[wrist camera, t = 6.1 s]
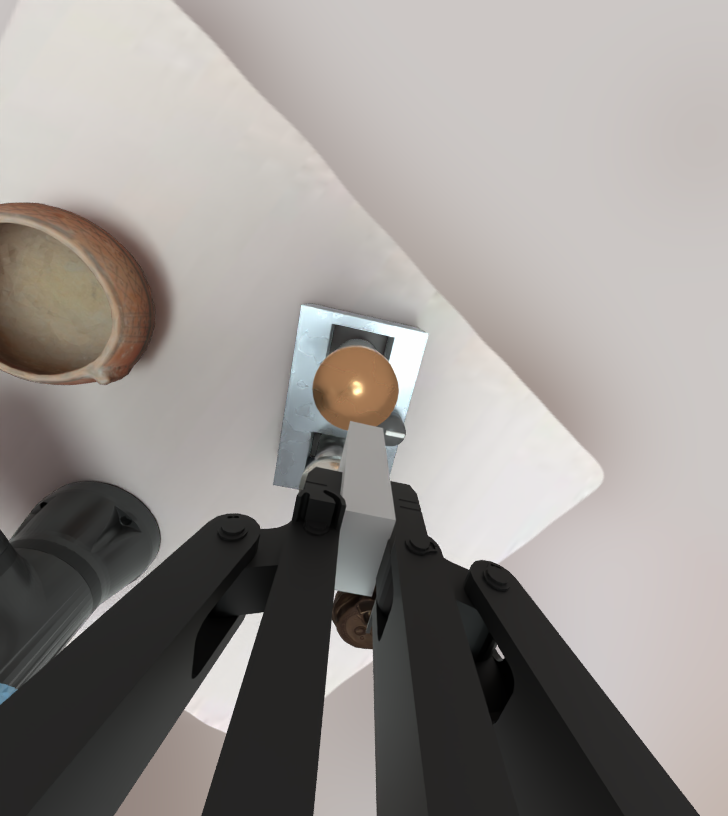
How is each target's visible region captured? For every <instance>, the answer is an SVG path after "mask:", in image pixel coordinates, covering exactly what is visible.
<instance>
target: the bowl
mask: <svg viewBox="0 0 728 816" xmlns="http://www.w3.org/2000/svg"><path fill="white" fill-rule="evenodd" d="M154 317H155V306H154V303H153V300H152V296H151V290H150V286H149V285H148V283H147V281H146V278H145V276H144V274H143V271H142V269H141V267H140V266H139V264H138V263H137V262H136V260H135V259H134V257H133V256H132V255H131V254H130V253H129V252H128V251H127V250H126V249H125V248H124V247H123V246H122V245H121V244H120V243H119V242H118V241H117V240H116V239H114V238H113V237H112V236H111V235H110V234H109V233H107V232H106V231H104V230H103V229H101V228H100V227H98V226H97V225H95V224H94V223H92V222H90V221H89V220H87V219H85V218H83V217H81V216H79V215H76V214H74V213H72V212H69V211H66V210H63V209H60V208H56V207H52V206H48V205H44V204H39V203H6V204H0V370H2V371H4V372H6V373H9V374H11V375H13V376H16V377H18V378H21V379H25V380H28V381H32V382H37V383H44V384H53V385H77V384H85V383H92V382H98V383H99V384H103V385H107V384H109V383H111V382H115V381H117V380H120V379H122V378H123V377H125V376H127V375H128V374H129V373H130V371H131V369H132V368H133V366H134V365H135V363H136V362H137V361H138V360H139V359H140V358H141V356H142V355H143V354H144V352H145V351H146V349H147V347H148V344H149V343H150V340H151V336H152V332H153V329H154V326H155V324H154Z"/></svg>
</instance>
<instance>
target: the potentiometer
mask: <svg viewBox="0 0 728 816" xmlns="http://www.w3.org/2000/svg"><path fill="white" fill-rule="evenodd" d="M376 427H380V428H383V433H384V440H385V446H396V445H398V444H400V443H401V442H402V441H403V440H404V438H405V435H406V430H405V427H404V424H403V421H402V418H401V416H400V415H399V414H398V413H397V412H395V411H392V413H391V414H390V416H389V417H388V418H387V419H386V420H385V421H384V422H382V423H381V424H379V425H378V426H376Z"/></svg>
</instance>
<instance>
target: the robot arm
mask: <svg viewBox="0 0 728 816" xmlns="http://www.w3.org/2000/svg"><path fill="white" fill-rule="evenodd" d="M159 547H160V533H159V529H158V526H157V523H156V521H155V519H154V517H153V516H152V514H151V513H150V511H149V510H148V509H147V508H146V507H145V506H144V504H143V503H141V502H140V501H139V500H138V499H137V498H135V497H134V496H133V495H131V494H129V493H128V492H126V491H124V490H122V489H120V488H118V487H115V486H112V485H109V484H105V483H100V482H92V481H84V482H76V483H71V484H68V485H65V486H63V487H61V488H59V489H58V490H56V491H55V492H53V493H52V494H50V495H49V496H47V497H46V498H44V499H43V500H42V501H40V502H39V503H38V504H37V505H36V506H35V507H34V509H33V510H32V511H31V513H30V514H29V515H28V517H27V518H26V519H25V520H24V522H23V523H22V524H21V526H20V527H19V528H18V530H17V531H16V532H15V534H14V535H13V536H12V538H11V539H10V540H9V541H8V539H7V538H6V536H5V535H4V534H3V532H2V531H1V530H0V816H114V814H115V813H116V811H117V810H118V808H119V807H120V805H121V804H122V802H123V801H124V799H125V798H126V796H127V795H128V793H129V792H130V790H131V789H132V787H133V786H134V784H135V783H136V781H137V780H138V778H139V777H140V775H141V774H142V772H143V771H144V769H145V768H146V766H147V765H148V763H149V762H150V760H151V759H152V757H153V756H154V754H155V753H156V751H157V750H158V748H159V747H160V745H161V744H162V742H163V740H164V739H165V738H166V736H167V735H168V733H169V731H170V730H171V729H172V727H173V725H174V724H175V722H176V721H177V719H178V718H179V716H180V715H181V713H182V712H183V710H184V709H185V707H186V706H187V704H188V703H189V701H190V700H191V698H192V697H193V695H194V694H195V692H196V691H197V689H198V688H199V686H200V685H201V683H202V682H203V680H204V679H205V677H206V676H207V674H208V673H209V671H210V670H211V668H212V667H213V665H214V664H215V662H216V661H217V659H218V658H219V656H220V655H221V653H222V652H223V650H224V649H225V647H226V646H227V644H228V643H229V641H230V640H231V638H232V637H233V635H234V634H235V632H236V631H237V629H238V627H239V626H240V624H241V623H242V621H243V620H244V618H245V615H246V614H253V613H261V612H264V613H263V616H262V620H261V623H260V626H259V629H258V633H257V636H256V639H255V643H254V646H253V649H252V652H251V656H250V659H249V662H248V665H247V669H246V672H245V675H244V678H243V682H242V685H241V688H240V691H239V695H238V698H237V701H236V704H235V708H234V711H233V714H232V718H231V721H230V724H229V727H228V731H227V734H226V737H225V740H224V744H223V747H222V750H221V754H220V757H219V760H218V763H217V766H216V770H215V773H214V776H213V780H212V783H211V786H210V789H209V793H208V796H207V799H206V802H205V806H204V809H203V813H202V816H313V811H314V801H315V791H316V781H317V770H318V759H319V748H320V737H321V727H322V716H323V706H324V695H325V685H326V674H327V663H328V653H329V642H330V631H331V621H332V610H333V599H334V590H338V591H343V592H349V593H354V594H360V595H365V596H371V597H372V594H373V591H374V588H375V585H376V595H377V597H376V600H375V603H374V606H373V609H372V612H371V615H370V618H369V621H368V625H367V629H366V633H369V634H370V631H371V627H372V632H373V674H374V717H375V757H376V758H375V759H376V801H377V802H376V803H377V816H700V815H699V814H698V813H697V812H696V810H695V809H694V807H693V806H692V805H691V804H690V802H689V801H688V800H687V798H686V797H685V796H684V795H683V793H682V792H681V791H680V789H679V788H678V787H677V785H676V784H675V783H674V782H673V780H672V779H671V778H670V776H669V775H668V774H667V773H666V771H665V770H664V769H663V767H662V766H661V765H660V764H659V762H658V761H657V760H656V758H655V757H654V756H653V755H652V753H651V752H650V751H649V749H648V748H647V747H646V746H645V744H644V743H643V742H642V740H641V739H640V738H639V737H638V735H637V734H636V733H635V731H634V730H633V729H632V727H631V726H630V725H629V724H628V722H627V721H626V720H625V718H624V717H623V716H622V715H621V714H620V712H619V711H618V709H617V708H616V707H615V706H614V704H613V703H612V702H611V700H610V699H609V698H608V696H607V695H606V694H605V693H604V691H603V690H602V689H601V688H600V686H599V685H598V684H597V682H596V681H595V680H594V678H593V677H592V676H591V675H590V673H589V672H588V671H587V669H586V668H585V667H584V666H583V664H582V663H581V662H580V660H579V659H578V658H577V656H576V655H575V654H574V653H573V651H572V650H571V649H570V648H569V646H568V645H567V644H566V642H565V641H564V640H563V638H562V637H561V636H560V635H559V633H558V632H557V631H556V629H555V628H554V627H553V626H552V624H551V623H550V622H549V620H548V619H547V618H546V617H545V615H544V614H543V613H542V611H541V610H540V609H539V607H538V606H537V605H536V604H535V602H534V601H533V600H532V598H531V597H530V596H529V595H528V594H527V592H526V591H525V590H524V589H523V587H522V586H521V584H520V583H519V582H518V581H517V579H516V578H515V577H514V576H513V575H512V574H511V573H510V572H509V571H508V570H506V569H504V568H503V567H502V566H500V565H498V564H496V563H493V562H491V561H485V560H480V561H475V562H474V563H473V564H472V565H471V567H470V569H469V570H468V569H466V568H463V567H461V566H459V565H457V564H454V563H452V562H450V561H448V560H446V559H445V558H444V557H443V555H442V551H441V549H440V547H439V546H438V544H437V543H436V542H435V541H434V540H433V539H432V538H431V537H429V536H428V535H427V531H426V527H425V523H424V520H423V516H422V512H421V508H420V505H419V501H418V497H417V494H416V492H415V491H414V490H413V489H412V488H411V486H410V485H407V484H402V483H397V482H392V481H390V475H389V468H388V461H387V454H386V447H385V440H384V433H383V428H380V427H376V426H371V425H366V424H362V423H357V422H353V421H350V424H349V428H348V432H347V436H346V441H345V445H344V449H343V453H342V457H341V461H340V466H339V470H338V471H335V470H330V469H325V468H320V467H315V468H314V469H312V470H311V471H310V472H308V475H307V478H306V482H305V485H304V488H303V490H301V491H300V492H299V493H298V495H297V497H296V502H295V507H294V512H293V517H292V521H290V522H289V523H288V524H286V525H284V526H281V527H278V528H272V529H260V526H259V524H258V523H257V522H256V521H255V520H254V519H252V518H251V517H249V516H247V515H242V514H225V515H221V516H217V517H216V518H214V519H212V520H211V521H209V522H208V523H207V524H206V525H204V526H203V527H202V528H201V529H200V530H199V531H198V532H196V533H195V534H194V535H193V536H192V537H191V538H190V539H188V540H187V541H186V542H185V543H184V544H183V545H182V546H181V547H179V548H178V549H177V550H176V551H175V552H174V553H173V554H171V555H170V556H169V557H168V558H167V559H166V560H165V561H163V562H162V563H161V564H160V565H159V566H158V567H157V568H155V569H154V570H153V571H152V572H151V573H150V574H149V575H147V576H146V577H145V578H144V579H143V580H142V581H141V582H140V583H138V584H137V585H136V586H135V587H134V588H133V589H132V590H130V591H129V592H128V593H127V594H126V595H125V596H124V597H122V598H121V599H120V600H119V601H118V602H117V603H116V604H114V605H113V606H112V607H111V608H110V609H109V610H108V611H106V612H105V613H104V614H103V615H102V616H101V617H100V618H99V619H97V620H96V621H95V622H94V623H93V624H92V625H91V626H89V627H88V628H87V629H86V630H85V631H84V632H83V633H81V634H80V635H79V636H78V637H77V638H76V639H75V640H73V641H72V642H71V643H70V644H69V645H68V646H67V647H65V646H66V645H67V643H68V642H69V641H70V640H71V639H72V637H73V636H74V635H75V634H76V632H77V631H78V630H79V629H80V628H81V626H82V625H83V624H84V623H85V622H86V620H87V619H88V618H89V617H90V615H91V614H92V613H93V612H94V611H95V609H96V608H97V607H98V606H99V605H100V604H101V603H103V602H104V601H106V600H107V599H109V598H110V597H111V596H113V595H114V594H116V593H117V592H118V591H120V590H121V589H123V588H124V587H125V586H127V585H128V584H130V583H131V582H133V581H135V580H136V579H137V578H139V577H140V576H141V575H142V574H143V573H144V572H145V570H146V569H147V568H148V567H149V565H150V564H151V563H152V561H153V560H154V559H155V557H156V555H157V553H158V551H159ZM497 645H498V647H499V648H500V650H501V652H502V653H503V655H504V657H505V658H504V659H502V658H501V657H500V655H499V654H498V653H497V651H496V649H495V648H496V646H497ZM64 647H65V648H64ZM63 648H64V649H63ZM62 649H63V650H62Z"/></svg>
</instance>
